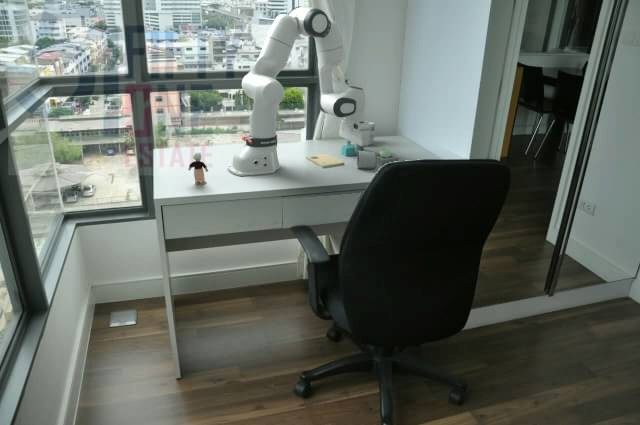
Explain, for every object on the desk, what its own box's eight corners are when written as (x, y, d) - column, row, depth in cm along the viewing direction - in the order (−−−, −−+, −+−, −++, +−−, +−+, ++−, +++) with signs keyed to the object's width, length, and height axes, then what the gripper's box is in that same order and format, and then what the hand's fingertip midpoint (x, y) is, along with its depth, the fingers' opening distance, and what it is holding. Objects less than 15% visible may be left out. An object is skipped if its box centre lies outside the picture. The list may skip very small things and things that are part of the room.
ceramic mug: (376, 170, 219) (378, 153, 216) (358, 170, 218) (359, 153, 215) (373, 163, 228) (374, 147, 225) (355, 163, 228) (356, 146, 225)
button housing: (382, 166, 224) (383, 160, 223) (370, 160, 231) (371, 154, 230) (398, 163, 228) (398, 157, 227) (386, 158, 235) (386, 152, 234)
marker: (345, 156, 236) (346, 148, 234) (341, 154, 239) (341, 146, 237) (363, 153, 241) (364, 145, 239) (358, 151, 244) (359, 143, 242)
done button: (383, 160, 226) (384, 152, 224) (377, 157, 229) (377, 150, 228) (392, 159, 228) (392, 151, 227) (385, 156, 232) (386, 148, 230)
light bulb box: (364, 140, 261) (366, 120, 257) (374, 144, 257) (375, 123, 252) (349, 144, 255) (350, 123, 251) (358, 147, 250) (360, 126, 246)
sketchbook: (322, 168, 220) (322, 165, 219) (305, 158, 231) (305, 156, 231) (343, 164, 225) (343, 162, 224) (326, 155, 237) (326, 153, 236)
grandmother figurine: (209, 181, 201) (207, 150, 196) (208, 184, 197) (207, 153, 192) (189, 181, 200) (187, 151, 194) (188, 185, 196) (186, 154, 191)
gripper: (336, 117, 240) (335, 145, 246) (361, 127, 224) (359, 157, 230) (347, 116, 243) (346, 144, 249) (372, 126, 227) (370, 155, 233)
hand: (352, 150), depth 239 cm, fingers closed on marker, 4 cm apart
